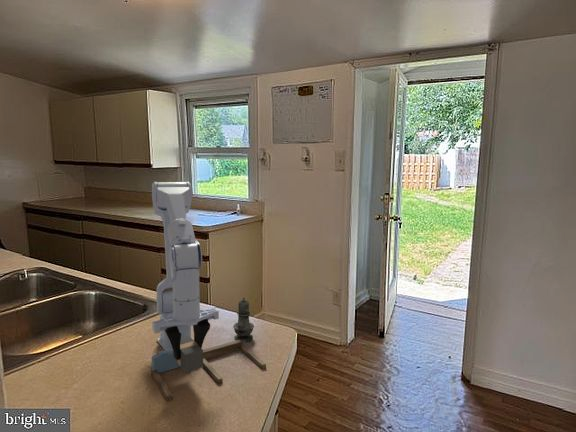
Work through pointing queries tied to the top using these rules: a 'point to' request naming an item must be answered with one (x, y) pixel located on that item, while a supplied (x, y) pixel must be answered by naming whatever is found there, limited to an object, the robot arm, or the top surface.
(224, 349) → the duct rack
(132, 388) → the top surface
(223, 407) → the top surface
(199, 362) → the grey and tan block
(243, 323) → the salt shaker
